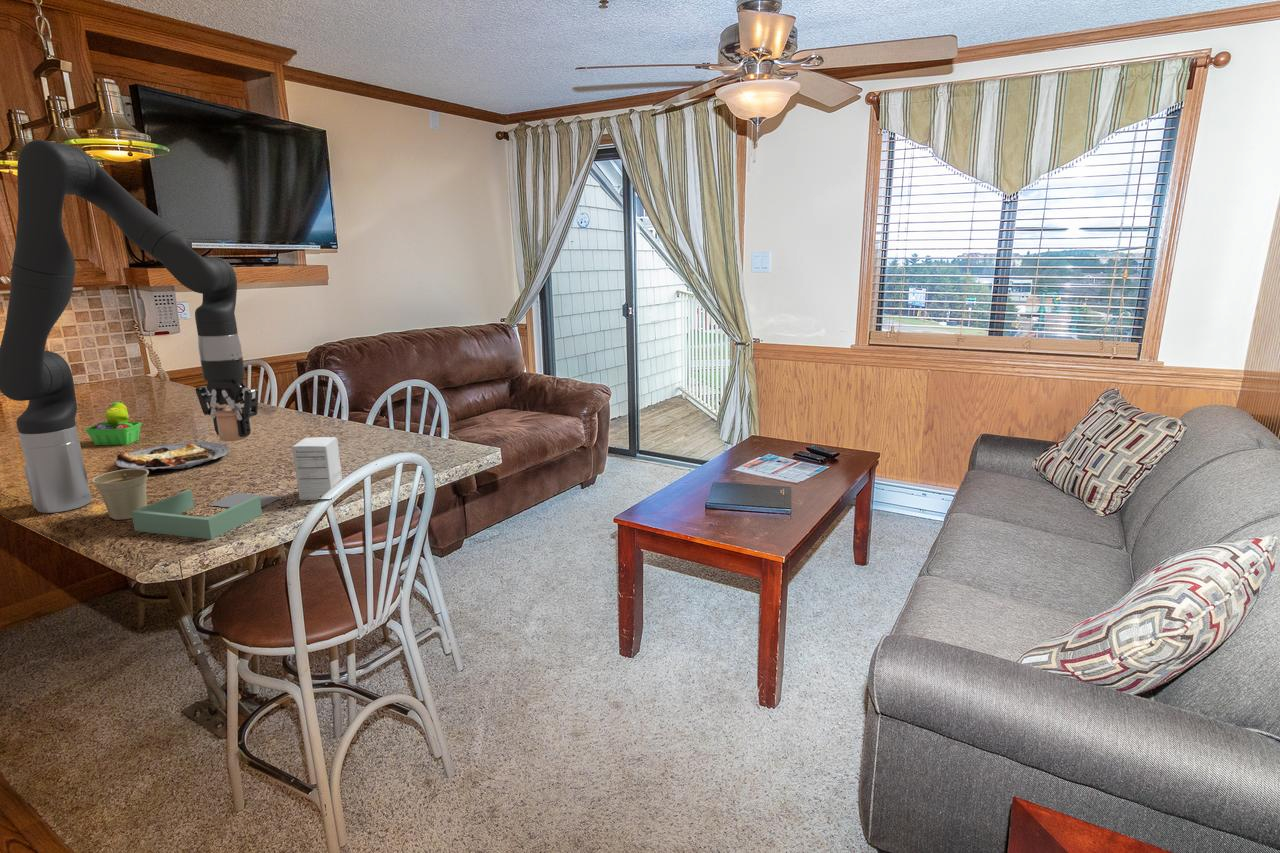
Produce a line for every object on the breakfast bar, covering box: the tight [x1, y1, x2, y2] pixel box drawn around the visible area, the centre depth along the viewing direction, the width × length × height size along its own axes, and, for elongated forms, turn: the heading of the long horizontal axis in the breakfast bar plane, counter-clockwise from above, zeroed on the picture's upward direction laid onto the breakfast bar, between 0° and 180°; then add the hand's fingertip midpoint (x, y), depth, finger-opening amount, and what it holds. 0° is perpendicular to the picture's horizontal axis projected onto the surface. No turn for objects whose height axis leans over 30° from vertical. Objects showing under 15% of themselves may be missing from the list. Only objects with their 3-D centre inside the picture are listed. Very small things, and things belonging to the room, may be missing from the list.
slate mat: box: [208, 492, 283, 509], centre depth 149 cm, size 12×8×1 cm, turn 77°
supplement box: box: [292, 436, 343, 501], centre depth 152 cm, size 7×7×13 cm
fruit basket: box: [84, 401, 142, 446], centre depth 193 cm, size 11×9×11 cm
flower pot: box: [91, 468, 150, 521], centre depth 140 cm, size 9×9×9 cm
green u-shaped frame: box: [131, 489, 263, 540], centre depth 137 cm, size 18×13×4 cm
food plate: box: [113, 441, 231, 472], centre depth 177 cm, size 25×23×4 cm
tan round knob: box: [214, 407, 249, 442], centre depth 144 cm, size 6×6×6 cm
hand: (233, 434), depth 144 cm, fingers closed on tan round knob, 5 cm apart
